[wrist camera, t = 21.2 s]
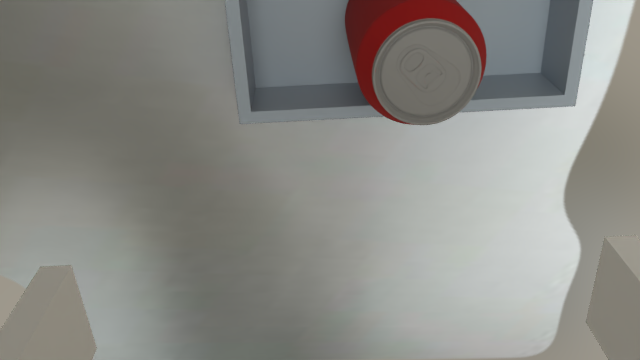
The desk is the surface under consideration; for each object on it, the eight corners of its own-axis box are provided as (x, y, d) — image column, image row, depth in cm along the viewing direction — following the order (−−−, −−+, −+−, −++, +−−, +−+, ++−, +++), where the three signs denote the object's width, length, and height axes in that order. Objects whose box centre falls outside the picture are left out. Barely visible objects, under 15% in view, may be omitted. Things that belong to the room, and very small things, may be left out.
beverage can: (393, 84, 42) (423, 162, 32) (322, 19, 40) (329, 80, 29) (465, 12, 40) (524, 70, 29) (395, -62, 37) (431, -27, 27)
